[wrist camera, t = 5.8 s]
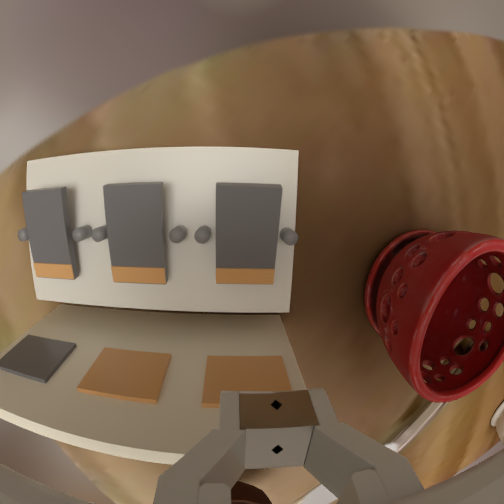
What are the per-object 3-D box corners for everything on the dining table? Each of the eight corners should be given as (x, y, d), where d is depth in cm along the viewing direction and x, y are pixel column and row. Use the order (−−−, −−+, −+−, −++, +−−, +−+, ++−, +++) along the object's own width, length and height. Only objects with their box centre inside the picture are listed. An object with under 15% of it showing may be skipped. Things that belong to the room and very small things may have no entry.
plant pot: (457, 220, 26) (541, 242, 14) (438, 332, 29) (501, 383, 17) (355, 213, 25) (438, 236, 13) (340, 345, 28) (391, 423, 16)
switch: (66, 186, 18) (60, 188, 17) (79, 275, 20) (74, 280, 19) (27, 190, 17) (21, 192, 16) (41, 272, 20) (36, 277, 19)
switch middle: (163, 181, 18) (159, 183, 17) (168, 279, 21) (165, 285, 20) (107, 183, 18) (102, 186, 17) (117, 277, 20) (113, 282, 20)
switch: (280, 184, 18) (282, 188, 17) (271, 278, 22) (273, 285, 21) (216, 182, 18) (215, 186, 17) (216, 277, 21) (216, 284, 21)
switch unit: (287, 156, 24) (377, 111, 8) (278, 324, 27) (324, 461, 11) (51, 163, 22) (-81, 159, 7) (62, 312, 25) (-32, 401, 10)
